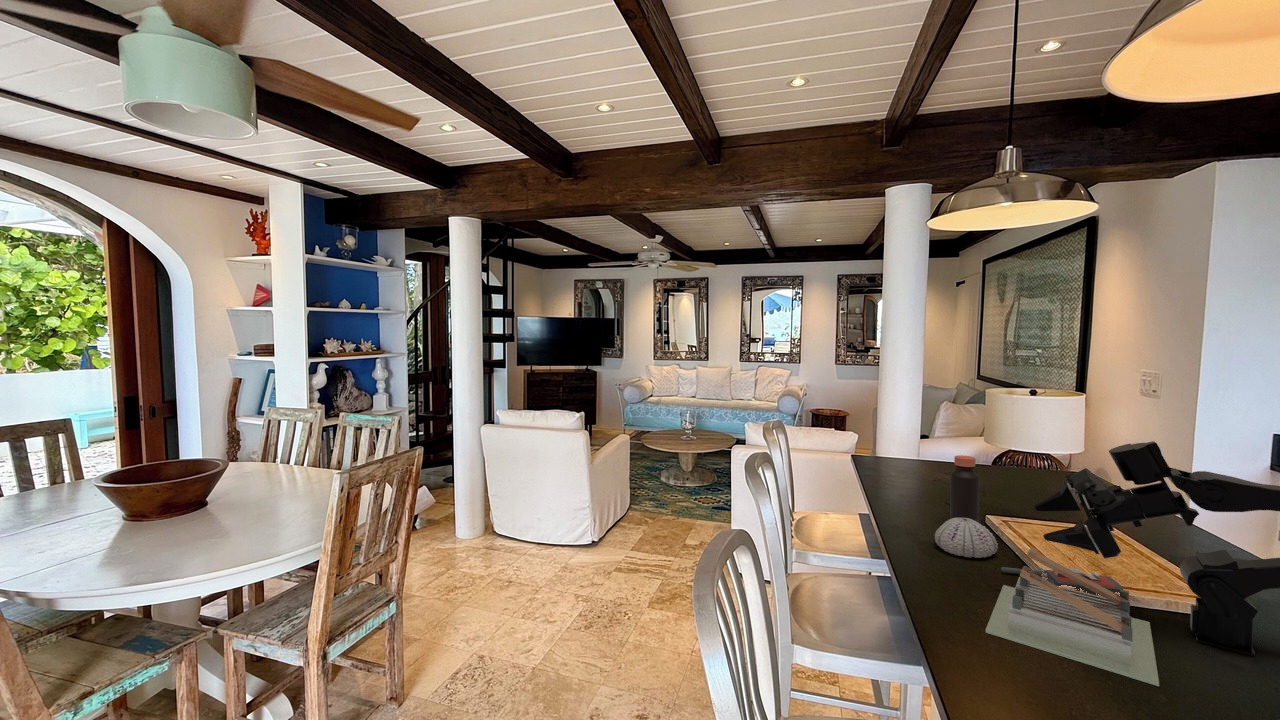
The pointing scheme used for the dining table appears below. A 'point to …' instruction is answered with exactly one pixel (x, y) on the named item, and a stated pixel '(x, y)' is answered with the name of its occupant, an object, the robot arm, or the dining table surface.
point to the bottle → (964, 489)
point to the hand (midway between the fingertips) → (1039, 522)
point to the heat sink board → (1075, 629)
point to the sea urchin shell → (965, 538)
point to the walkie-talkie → (1062, 580)
